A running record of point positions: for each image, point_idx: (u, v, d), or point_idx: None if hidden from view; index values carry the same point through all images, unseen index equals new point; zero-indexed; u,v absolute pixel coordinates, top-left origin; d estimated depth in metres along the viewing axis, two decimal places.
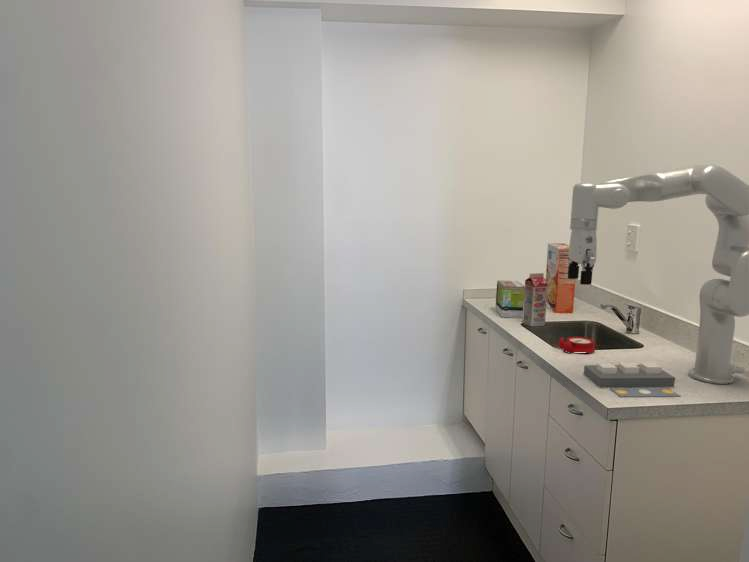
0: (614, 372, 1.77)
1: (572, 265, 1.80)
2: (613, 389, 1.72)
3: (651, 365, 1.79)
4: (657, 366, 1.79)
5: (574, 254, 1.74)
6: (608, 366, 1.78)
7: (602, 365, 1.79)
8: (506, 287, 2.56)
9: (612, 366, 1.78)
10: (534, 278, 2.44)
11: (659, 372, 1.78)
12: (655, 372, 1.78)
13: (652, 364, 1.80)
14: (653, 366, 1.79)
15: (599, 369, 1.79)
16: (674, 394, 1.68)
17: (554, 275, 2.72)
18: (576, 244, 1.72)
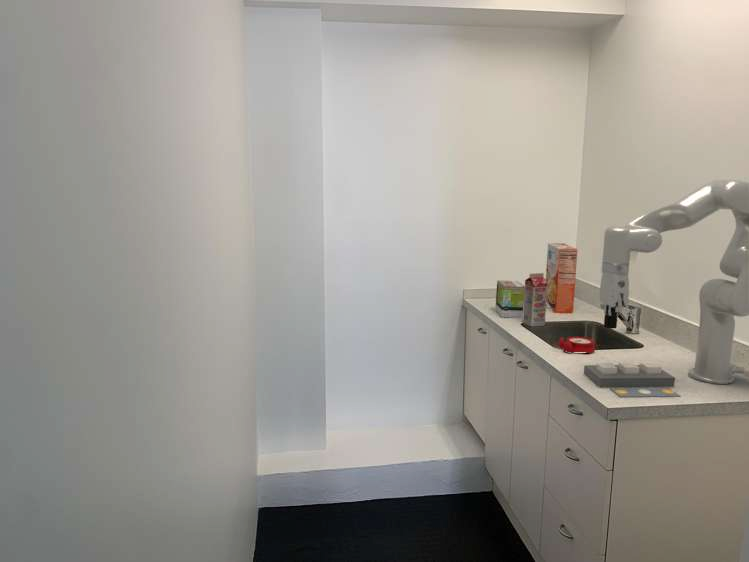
0: (614, 372, 1.77)
1: None
2: (613, 389, 1.72)
3: (651, 365, 1.79)
4: (657, 366, 1.79)
5: (606, 297, 1.75)
6: (608, 366, 1.78)
7: (602, 365, 1.79)
8: (506, 287, 2.56)
9: (612, 366, 1.78)
10: (534, 278, 2.44)
11: (659, 372, 1.78)
12: (655, 372, 1.78)
13: (652, 364, 1.80)
14: (653, 366, 1.79)
15: (599, 369, 1.79)
16: (674, 394, 1.68)
17: (554, 275, 2.72)
18: (608, 288, 1.73)
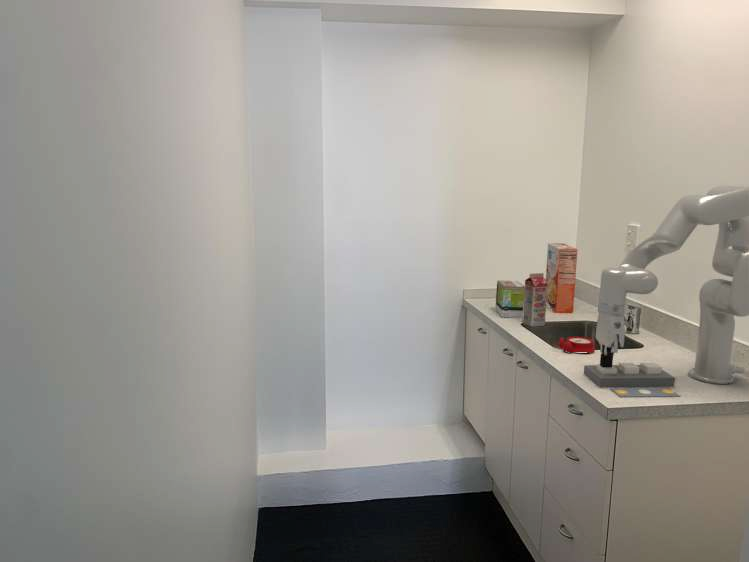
0: (614, 373, 1.77)
1: None
2: (613, 389, 1.72)
3: (651, 365, 1.79)
4: (657, 366, 1.79)
5: (602, 337, 1.77)
6: (608, 367, 1.78)
7: None
8: (506, 287, 2.56)
9: (612, 367, 1.78)
10: (534, 278, 2.44)
11: (659, 372, 1.78)
12: (655, 372, 1.78)
13: (652, 364, 1.80)
14: (653, 366, 1.79)
15: (599, 370, 1.79)
16: (674, 394, 1.68)
17: (554, 275, 2.72)
18: (604, 328, 1.75)
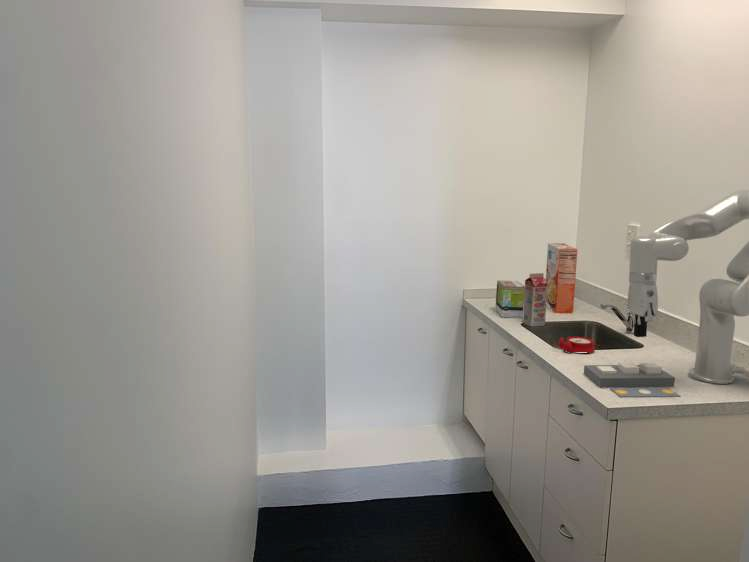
0: None
1: None
2: (613, 389, 1.72)
3: (651, 365, 1.79)
4: (657, 366, 1.79)
5: (634, 306, 1.76)
6: (608, 369, 1.79)
7: (602, 368, 1.79)
8: (506, 287, 2.56)
9: (612, 369, 1.78)
10: (534, 278, 2.44)
11: (659, 372, 1.78)
12: (655, 372, 1.78)
13: (652, 364, 1.80)
14: (653, 366, 1.79)
15: None
16: (674, 394, 1.68)
17: (554, 275, 2.72)
18: (637, 298, 1.74)
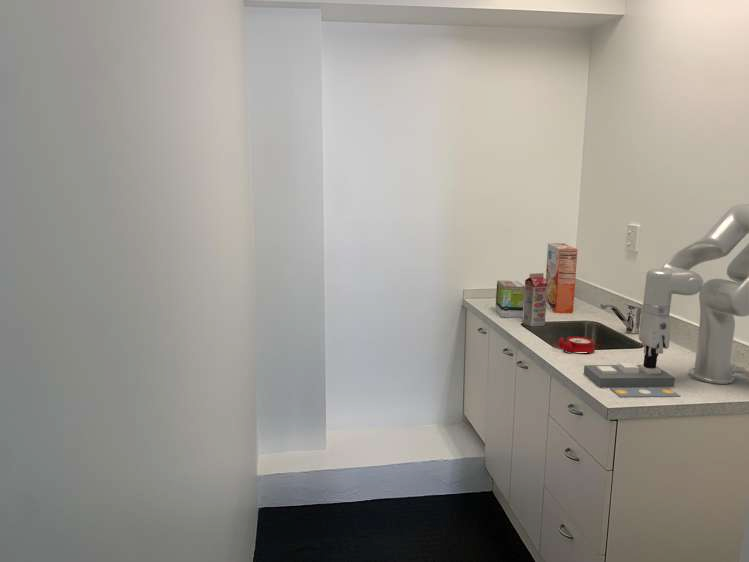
0: None
1: None
2: (613, 389, 1.72)
3: (651, 368, 1.79)
4: (657, 368, 1.79)
5: (646, 338, 1.78)
6: (608, 369, 1.79)
7: (602, 368, 1.79)
8: (506, 287, 2.56)
9: (612, 369, 1.78)
10: (534, 278, 2.44)
11: None
12: None
13: None
14: (653, 368, 1.79)
15: None
16: (674, 394, 1.68)
17: (554, 275, 2.72)
18: (649, 329, 1.76)
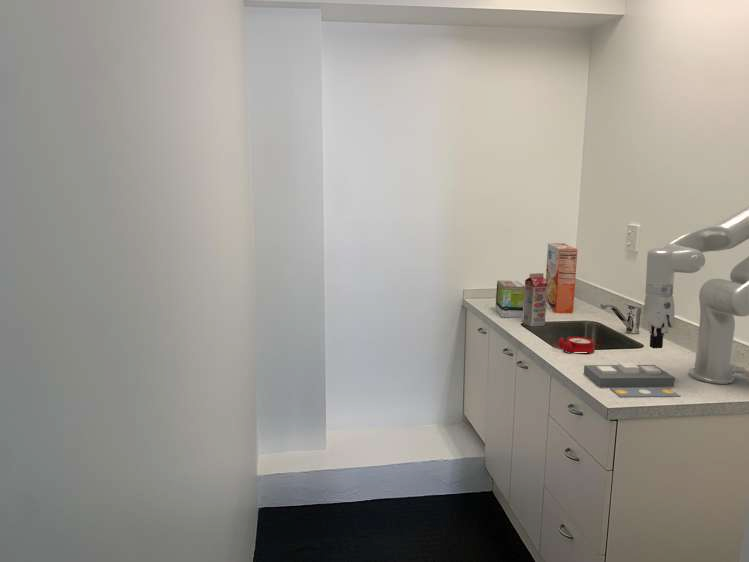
0: None
1: None
2: (613, 389, 1.72)
3: (650, 369, 1.79)
4: (657, 369, 1.79)
5: (651, 318, 1.77)
6: (608, 369, 1.79)
7: (602, 368, 1.79)
8: (506, 287, 2.56)
9: (612, 369, 1.78)
10: (534, 278, 2.44)
11: None
12: None
13: (652, 367, 1.81)
14: (653, 369, 1.79)
15: None
16: (674, 394, 1.68)
17: (554, 275, 2.72)
18: (653, 309, 1.75)
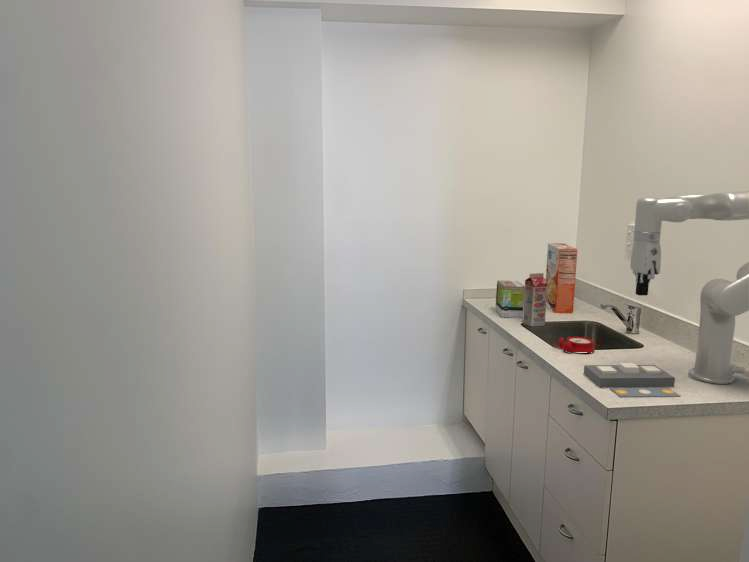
0: None
1: None
2: (613, 389, 1.72)
3: (650, 369, 1.79)
4: (657, 369, 1.79)
5: (638, 265, 1.82)
6: (608, 369, 1.79)
7: (602, 368, 1.79)
8: (506, 287, 2.56)
9: (612, 369, 1.78)
10: (534, 278, 2.44)
11: None
12: None
13: (652, 367, 1.81)
14: (653, 369, 1.79)
15: None
16: (674, 394, 1.68)
17: (554, 275, 2.72)
18: (641, 256, 1.80)
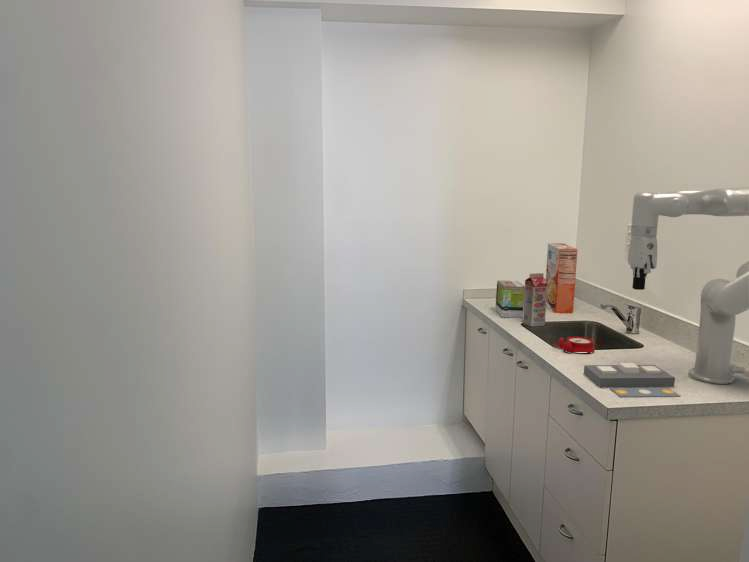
0: None
1: None
2: (613, 389, 1.72)
3: (650, 369, 1.79)
4: (657, 369, 1.79)
5: (634, 259, 1.83)
6: (608, 369, 1.79)
7: (602, 368, 1.79)
8: (506, 287, 2.56)
9: (612, 369, 1.78)
10: (534, 278, 2.44)
11: None
12: None
13: (652, 367, 1.81)
14: (653, 369, 1.79)
15: None
16: (674, 394, 1.68)
17: (554, 275, 2.72)
18: (637, 250, 1.81)
